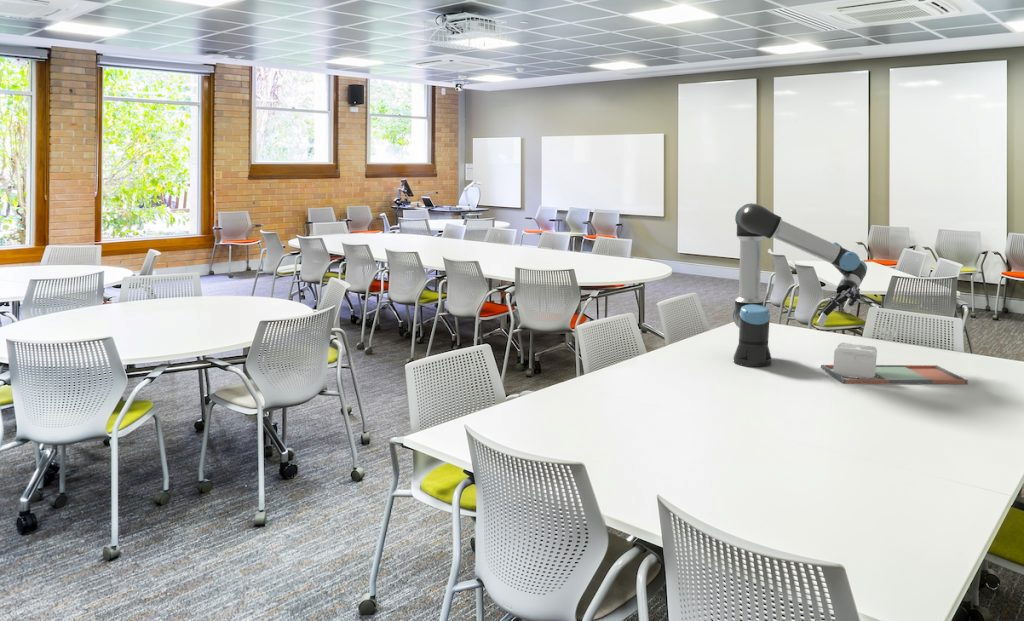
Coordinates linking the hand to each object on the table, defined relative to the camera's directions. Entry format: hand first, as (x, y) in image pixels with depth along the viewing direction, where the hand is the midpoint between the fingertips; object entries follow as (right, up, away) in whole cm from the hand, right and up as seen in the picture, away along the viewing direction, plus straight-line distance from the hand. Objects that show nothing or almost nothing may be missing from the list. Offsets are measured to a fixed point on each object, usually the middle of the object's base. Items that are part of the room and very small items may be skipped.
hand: (832, 317), depth 310 cm
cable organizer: (+7, -23, -4) cm, 24 cm away
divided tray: (+21, -22, -4) cm, 31 cm away
